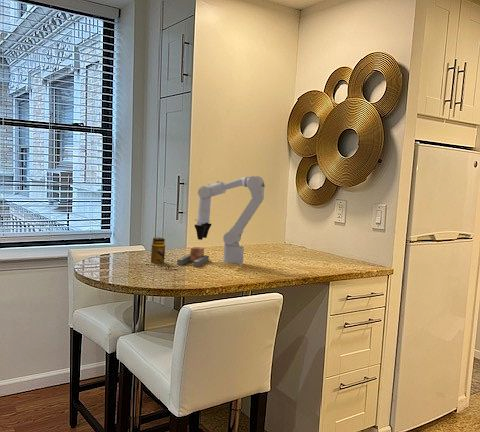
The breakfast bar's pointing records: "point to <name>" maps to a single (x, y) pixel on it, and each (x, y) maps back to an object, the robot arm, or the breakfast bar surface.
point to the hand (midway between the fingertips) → (202, 238)
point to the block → (196, 253)
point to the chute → (195, 263)
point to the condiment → (158, 251)
